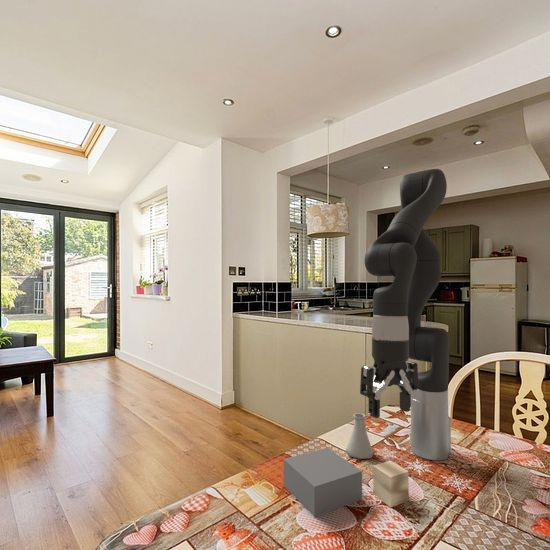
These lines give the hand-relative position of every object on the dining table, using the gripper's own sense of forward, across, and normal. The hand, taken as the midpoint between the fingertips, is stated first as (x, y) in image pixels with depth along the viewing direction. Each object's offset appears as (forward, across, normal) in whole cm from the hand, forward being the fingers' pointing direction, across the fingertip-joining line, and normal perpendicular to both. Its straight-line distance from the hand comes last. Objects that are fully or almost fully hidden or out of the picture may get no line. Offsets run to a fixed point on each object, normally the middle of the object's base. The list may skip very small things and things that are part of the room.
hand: (390, 413), depth 74 cm
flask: (+18, -7, -18) cm, 26 cm away
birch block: (+17, 0, 0) cm, 17 cm away
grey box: (+18, +12, -8) cm, 23 cm away
